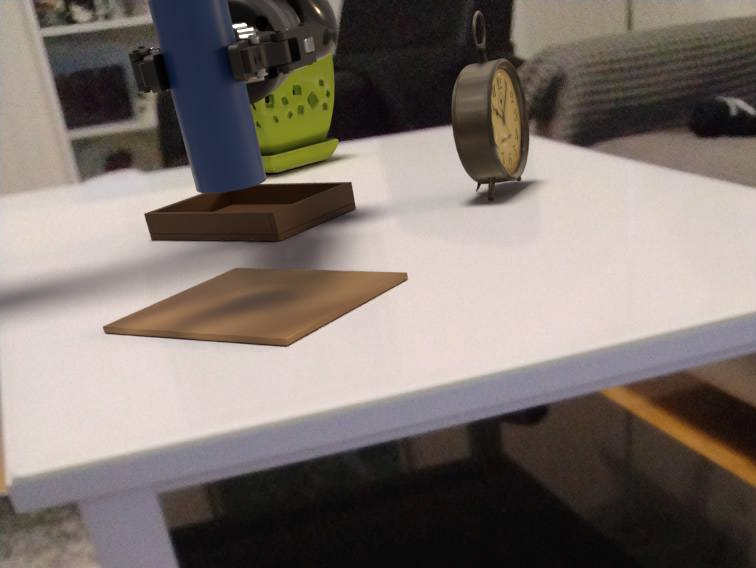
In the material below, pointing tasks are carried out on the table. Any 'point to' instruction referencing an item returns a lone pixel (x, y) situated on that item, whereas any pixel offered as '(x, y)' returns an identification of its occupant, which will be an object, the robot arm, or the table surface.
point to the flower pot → (297, 119)
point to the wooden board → (258, 305)
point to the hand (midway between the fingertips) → (194, 69)
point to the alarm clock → (490, 119)
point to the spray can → (208, 94)
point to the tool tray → (252, 212)
